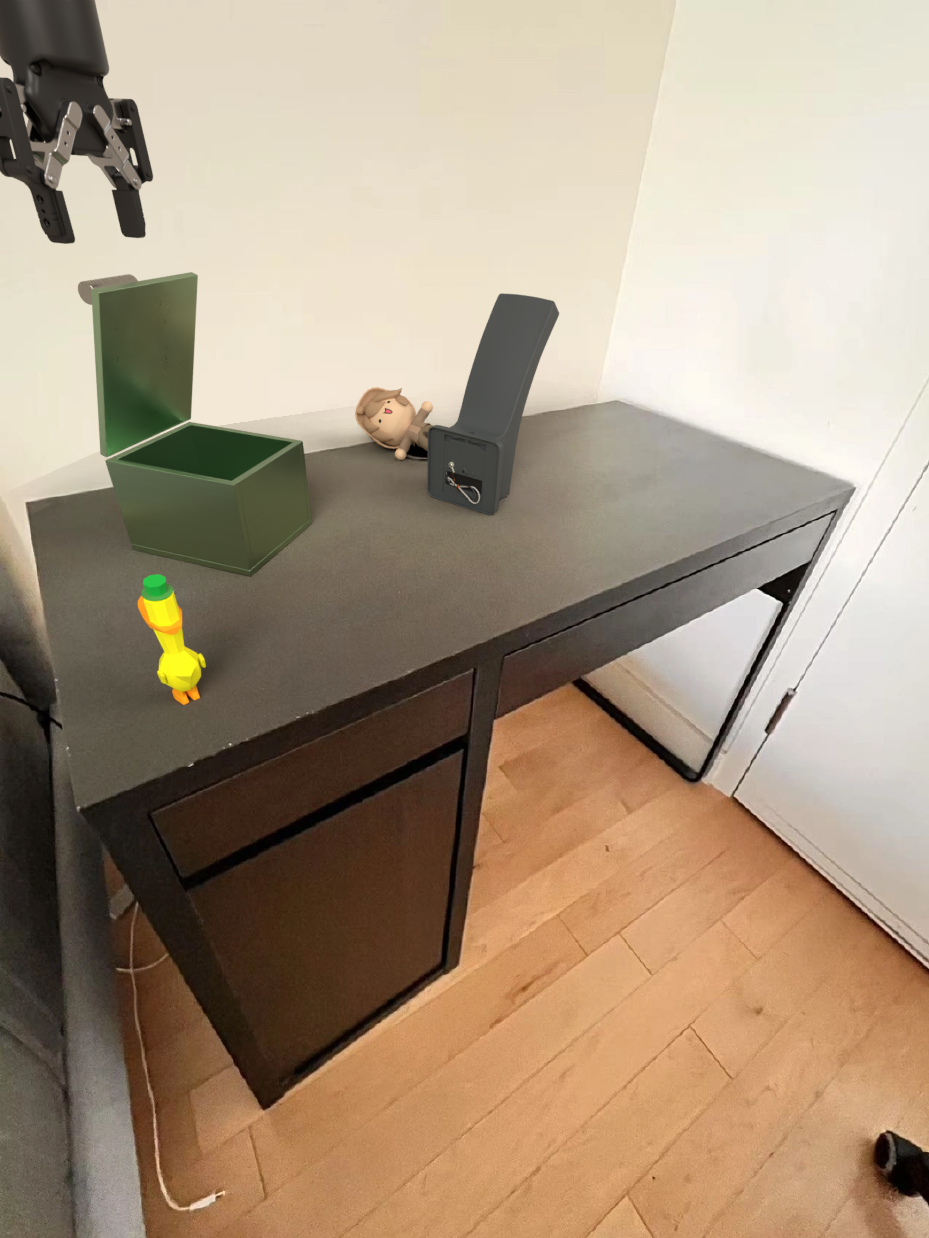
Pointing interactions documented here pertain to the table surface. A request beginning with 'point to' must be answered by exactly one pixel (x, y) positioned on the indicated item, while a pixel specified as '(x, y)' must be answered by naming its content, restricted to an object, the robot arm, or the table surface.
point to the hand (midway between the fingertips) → (100, 240)
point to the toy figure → (170, 638)
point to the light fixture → (491, 407)
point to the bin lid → (142, 355)
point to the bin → (213, 496)
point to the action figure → (393, 420)
